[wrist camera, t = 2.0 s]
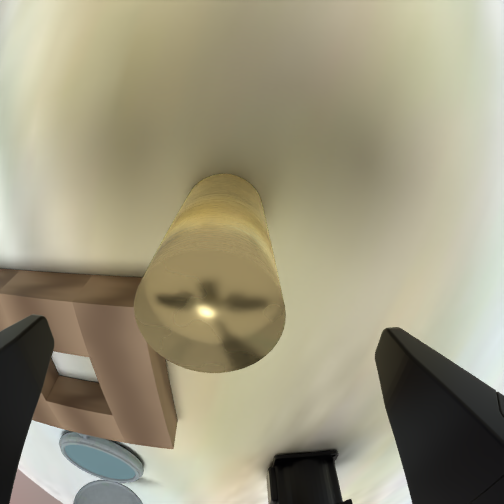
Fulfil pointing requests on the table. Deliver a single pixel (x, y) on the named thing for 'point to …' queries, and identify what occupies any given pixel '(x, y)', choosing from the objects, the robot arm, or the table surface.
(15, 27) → the table surface
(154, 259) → the gold cylinder
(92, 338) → the jig block
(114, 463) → the pocket watch
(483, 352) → the table surface
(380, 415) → the table surface
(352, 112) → the table surface
